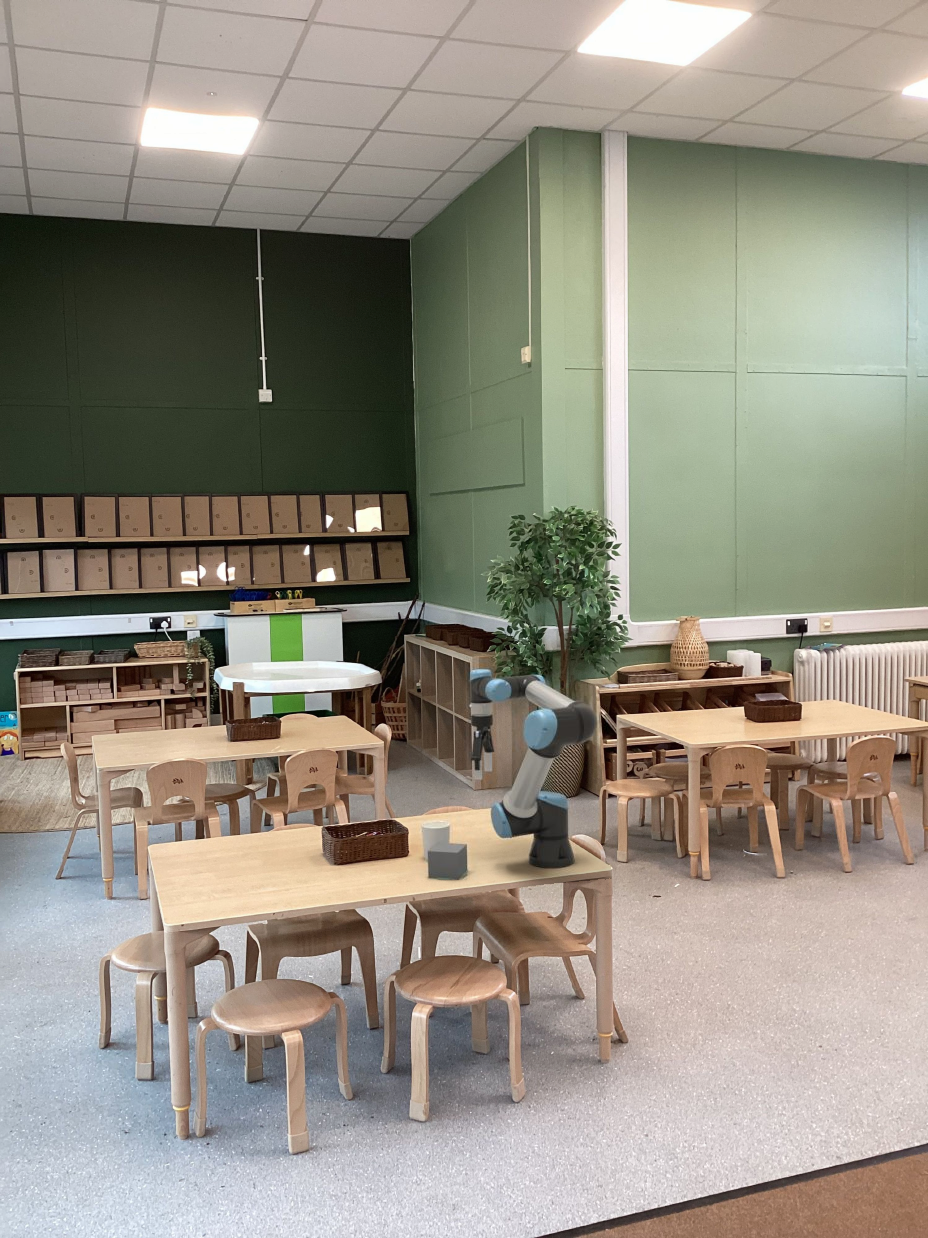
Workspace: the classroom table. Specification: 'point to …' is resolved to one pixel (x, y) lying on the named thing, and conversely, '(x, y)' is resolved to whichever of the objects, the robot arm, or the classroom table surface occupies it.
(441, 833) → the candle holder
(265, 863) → the classroom table surface
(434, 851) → the grey matte cube
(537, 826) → the robot arm
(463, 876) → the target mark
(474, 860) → the classroom table surface
